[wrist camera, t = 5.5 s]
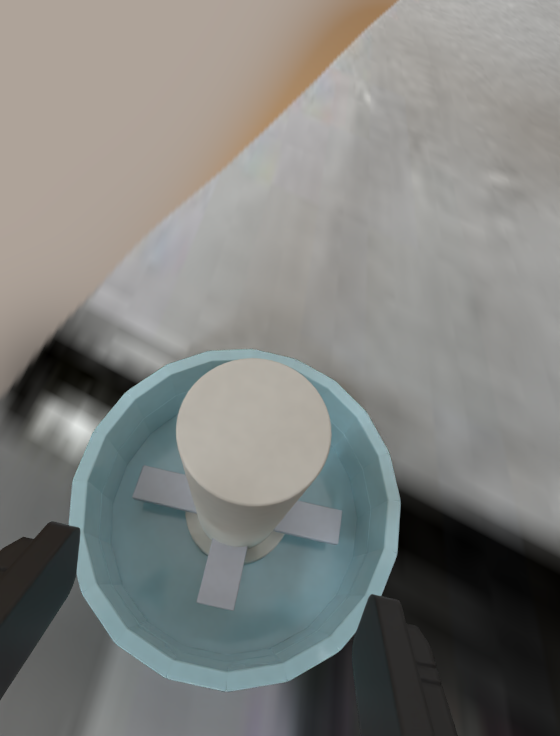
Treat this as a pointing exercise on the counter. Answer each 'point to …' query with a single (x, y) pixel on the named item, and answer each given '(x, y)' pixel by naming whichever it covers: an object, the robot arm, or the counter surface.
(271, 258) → the counter surface
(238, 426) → the blade
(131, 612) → the processor bowl
